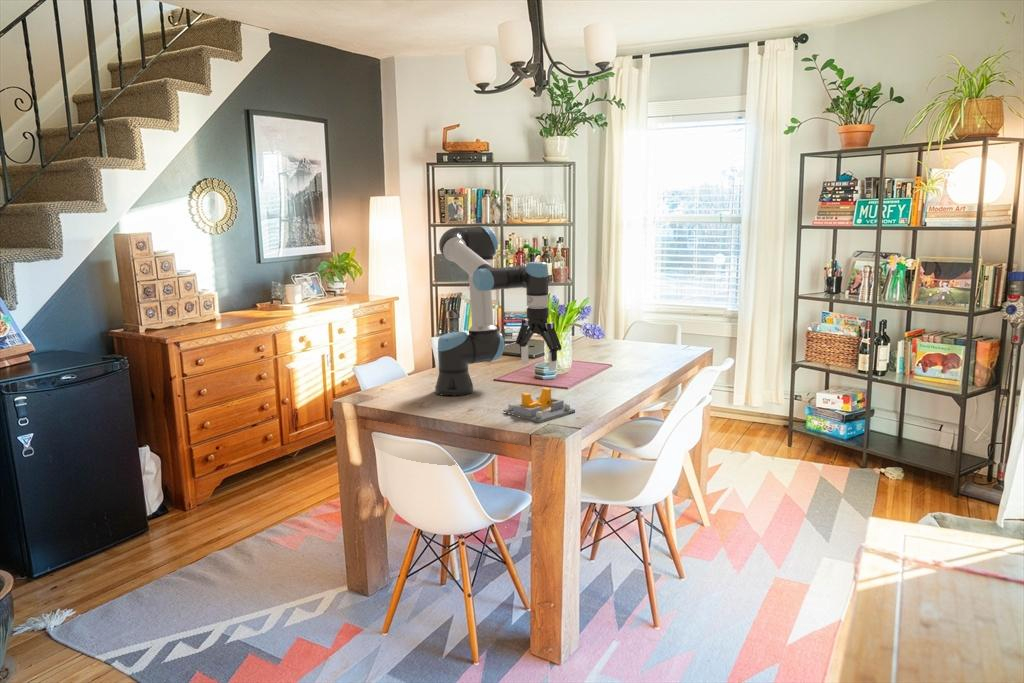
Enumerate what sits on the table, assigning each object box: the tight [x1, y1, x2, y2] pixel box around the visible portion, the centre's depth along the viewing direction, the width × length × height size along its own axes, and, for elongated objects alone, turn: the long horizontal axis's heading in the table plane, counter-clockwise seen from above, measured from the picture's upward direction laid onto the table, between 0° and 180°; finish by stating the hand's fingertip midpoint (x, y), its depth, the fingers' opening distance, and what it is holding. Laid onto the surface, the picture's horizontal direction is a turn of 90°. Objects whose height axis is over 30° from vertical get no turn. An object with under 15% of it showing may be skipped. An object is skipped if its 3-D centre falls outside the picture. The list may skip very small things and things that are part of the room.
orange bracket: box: [521, 387, 552, 411], centre depth 257 cm, size 12×4×6 cm, turn 132°
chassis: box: [502, 396, 576, 424], centre depth 257 cm, size 18×18×4 cm
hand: (538, 367), depth 254 cm, fingers open, 13 cm apart
